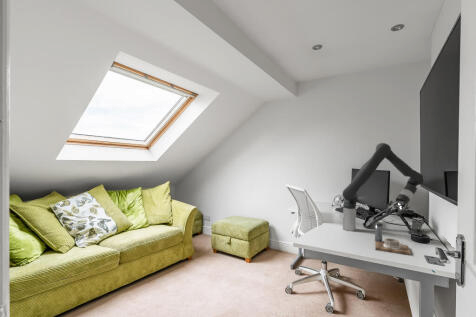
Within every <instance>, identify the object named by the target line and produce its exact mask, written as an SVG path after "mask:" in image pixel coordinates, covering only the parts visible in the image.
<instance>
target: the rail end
mask: <svg viewBox="0 0 476 317" xmlns="http://www.w3.org/2000/svg"><path fill="white" fill-rule="evenodd" d="M383 225H384V224H383V223H381V222H374V241H378V242H383V227H384V226H383Z"/></svg>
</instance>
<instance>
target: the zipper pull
mask: <svg viewBox="0 0 476 317" xmlns="http://www.w3.org/2000/svg"><path fill="white" fill-rule="evenodd" d="M424 223H425V222H424V221H423V220H415V219H412V220H411V228H410V229H411V230H410V229H408V231H407V233H409V234H408V235H410V234H412V233H417V234H423V235H424V232H423V229H422V227H423V225H424Z"/></svg>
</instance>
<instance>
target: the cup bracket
mask: <svg viewBox="0 0 476 317" xmlns="http://www.w3.org/2000/svg"><path fill="white" fill-rule="evenodd" d="M374 241H375V240H374ZM374 244H375V246H374V248H375V249H374V250H375V251H381V252H387V253H393V254H400V255H404V256H412V253H411V249H410V248H409V245H406V244H405V245H404V244H400V240H399V239H395V238H390V237H388V238H387V237H386V238H384V242H383V241H382V242H378V241H375V242H374Z"/></svg>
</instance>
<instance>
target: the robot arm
mask: <svg viewBox="0 0 476 317" xmlns="http://www.w3.org/2000/svg"><path fill="white" fill-rule="evenodd" d="M385 159H386V160H387V161H388V162H390V163H391V164H392V166H394V167H395V168H396V170H397V171H399V172H400V173H401V174H402V175H403V176H404V177H408V180H407V182H406V185H405V186H404V187H403V188H402V190H401V191H400V192H399V194H398V195H397V196H396V198H395V201H393V200H390V201H389V202H388V203H387V204H386V208H387V209H386V210H385V213H386V214H387V215H389V213H390V212H391V211H392V210H396V209H397V210H398V209H399V210H398V211H397V213H396V216H397V217H400V216H401V215H402V214H403V213H407V212H408V211H409V209H410V207H411V206H410V204H409V203H410V201H411V200H412V199H413V196H414V195H415V193H416V192H417V190H418V188H417V186H420V185H423V181H424V180H423V176H424V175H423V174H421V173H420V172H418V171H416V170H414V169H413V168H412V167H411V166H409V165H408V163H406V162H405V160H403V159H401V158H400V157H399V156H398V155H397V154H396V153H394V151H393V150H392V148H391V146H390V145H389V144H387V143H385V142H380V143H378V144H376V146H375V152H374V153H373V154H372V156H370V158H369V159H368V160H367V161H366V162H365V163H363V164H362V165H361V167H360V169H359V170H358V171H357V173H356V174H355V175H354V178H353V179H352V181H351V182H350V183H349V184H348V185H347V186H346V187H345V188H344V189H343V191H342V194H341V195H342V198H343V204H342V207H343V209H342V210H343V211H342V214H343V215H342V230H345V231H347V232H348V231H349V232H354V231H356V230H357V193H358V191H359V190H360V188H362V186H364V184H365V183H366V182H368V180H370V178H371V177H372V175H374V173H375V172H376V170H377V169H378V167H379V166H380V165H381V163H382V162H383V161H384V160H385Z"/></svg>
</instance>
